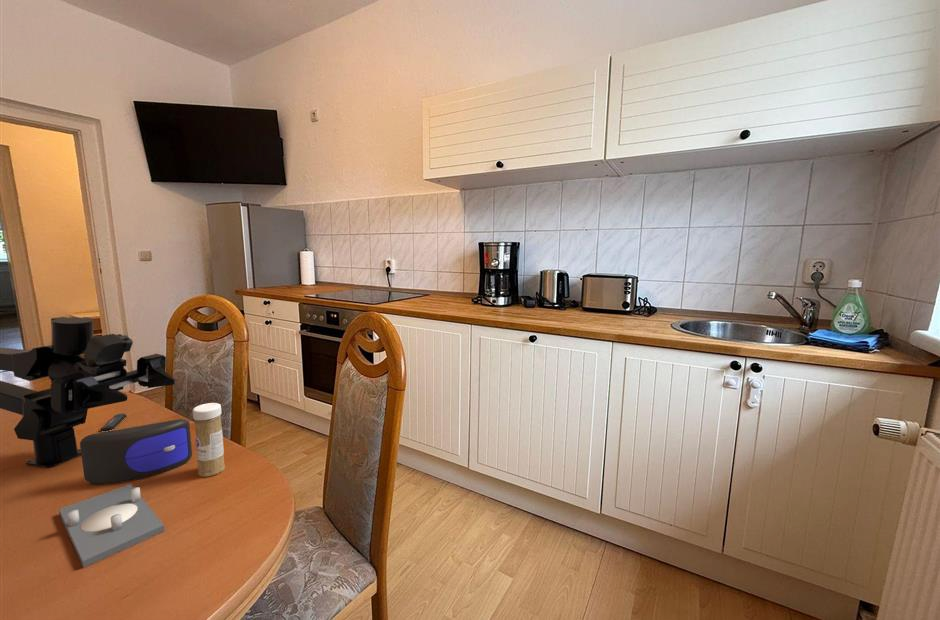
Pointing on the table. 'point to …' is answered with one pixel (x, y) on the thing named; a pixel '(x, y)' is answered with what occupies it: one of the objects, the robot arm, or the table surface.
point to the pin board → (109, 523)
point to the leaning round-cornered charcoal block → (135, 452)
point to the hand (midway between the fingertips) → (151, 389)
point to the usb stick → (113, 422)
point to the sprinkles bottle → (209, 439)
